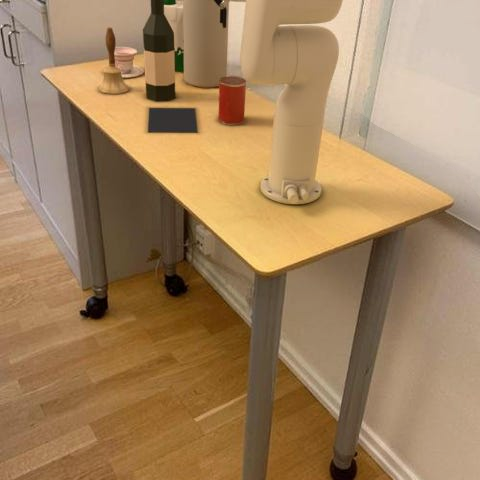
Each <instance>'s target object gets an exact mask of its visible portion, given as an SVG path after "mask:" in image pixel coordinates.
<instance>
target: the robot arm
mask: <svg viewBox="0 0 480 480" xmlns="http://www.w3.org/2000/svg"><path fill="white" fill-rule="evenodd" d="M214 1H215V3H216V4H217V5H218V6H219V7H220V23H222V26H223V28H225V27H226V19H227V9H226V5H227V4H228V3H229V4H230V2H237V3H245V6H244V7H245V8H244V15H243V25H242V32H241V33H242V35H241V40H240V41H241V43H240V53H239V56H240V57H239V62H240V63H239V65H240V66H239V67H240V71H241V75H242V78H243V79H245V80H246V83H247V82H248V83H249V84H251V85H255V86H277V85H278V86H279V85H280V86H281V85H284V88H282V90H281V92H280V93H279V95H278V96H277V99H276V102H275V106H274V114H273V125H272V137H271V147H270V148H271V149H270V160H269V169H268V170H269V171H268V172H269V173H268V175H266V176H265V177H263V179H262V180H261V182H260V191H261V193H262V194H263V196H265V197H266V198H268V199H270V200H272V201H275V202H277V203H279V204H285V205H286V204H287V205H305V204H310V203H312V202H314V201H316V200H318V199H319V198H320V196H321V194H322V189H323V188H322V184H320V182H319V181H318V180H317V179H316V177H317V171H318V170H317V169H318V164H319V156H320V148H321V141H322V135H323V127H324V121H325V115H326V107H327V103H328V102H327V101H328V96H329V91H330V88H331V84H332V80H333V78H334V75H335V71H336V69H337V65H338V60H339V56H340V55H339V54H340V45H339V41H338V38H337V37H336V34H335V33H334V32H333V31H332V30H330V29H328V28H327V27H324V26H321V25H320V26H319V24H324V23H328V22H329V23H330V22H332V21H333V20H334V19H335V18H336V17H337V16H338V14H339V13H340V11H341V8H342V5H343V2H344V0H214ZM316 24H317V25H316Z"/></svg>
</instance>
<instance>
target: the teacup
mask: <svg viewBox="0 0 480 480" xmlns="http://www.w3.org/2000/svg"><path fill="white" fill-rule="evenodd" d="M137 53H138V50H137V49H136V48H133V47H129V46H115V52H114V56H115V66H116V67H117V68H119V69H120V70H121V75H122V78H123V79H129V78H136V77H139V76H142V75H143V74H145V68H143V67H141V66H139V65H136V64H134V59H135V56H136V55H137ZM107 67H109V65H108V66H106V67H104V69H103V71H104V70H105V69H106V68H107Z"/></svg>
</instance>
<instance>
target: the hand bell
mask: <svg viewBox="0 0 480 480" xmlns="http://www.w3.org/2000/svg"><path fill="white" fill-rule="evenodd" d="M116 42H117V41H116V35H115V33H114V31H113V27H107V28H106V33H105V47H106V50H107V53H108V66H109V67H108V66H106V67H107V68H106V67H105V68H106V69H105V68H104V69H105V70H104V69H103V80H102V83H101V84H100V85H99V87H98V91H99V92H101V93H103V94H108V95H120V94H121V95H122V94H125V93H127V92H129V91H130V88H129V86H128V85H127V84H126V83H125V80H124V78H122V75H121V70H120V69H119V68H117V67H116V66H115V56H114V52H115V47H117V45H116V44H117V43H116Z"/></svg>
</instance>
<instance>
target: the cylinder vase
mask: <svg viewBox="0 0 480 480" xmlns="http://www.w3.org/2000/svg"><path fill="white" fill-rule="evenodd" d="M182 1H183V40H184V72H183V80H184V81H185V83H186V84H187V85H189V86H192V87H197V88H206V89H207V88H209V89H210V88H216V87H219V79H220V78H222V77H227V76H228V73H227V72H228V47H229V46H228V44H229V43H228V42H229V17H230V15H229V12H230V2H229V3H228V4H227V5H226V9H227V19H226V27H225V28H223V26H222V23H220V7H219V6H218V5H217V4H216V3H215V1H214V0H182Z"/></svg>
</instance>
